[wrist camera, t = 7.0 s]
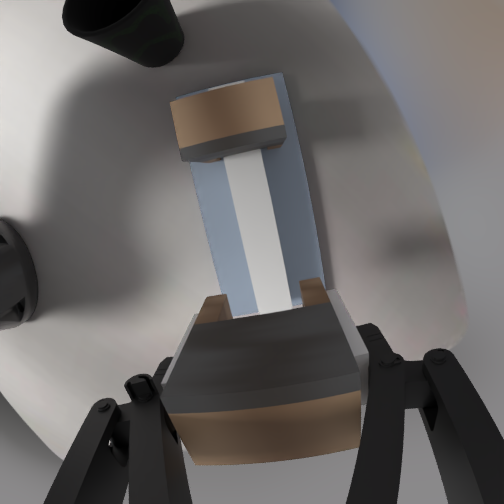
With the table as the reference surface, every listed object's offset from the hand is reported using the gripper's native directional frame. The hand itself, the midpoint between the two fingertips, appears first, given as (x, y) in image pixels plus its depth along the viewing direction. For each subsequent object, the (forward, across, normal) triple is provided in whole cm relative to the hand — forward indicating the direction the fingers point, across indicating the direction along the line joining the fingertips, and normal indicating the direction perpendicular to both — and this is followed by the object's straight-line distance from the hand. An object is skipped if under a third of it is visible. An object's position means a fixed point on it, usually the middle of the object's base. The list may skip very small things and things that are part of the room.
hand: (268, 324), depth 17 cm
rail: (+13, 0, +6) cm, 15 cm away
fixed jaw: (+12, 0, +12) cm, 17 cm away
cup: (+13, -6, +24) cm, 28 cm away
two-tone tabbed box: (+1, 0, 0) cm, 1 cm away
